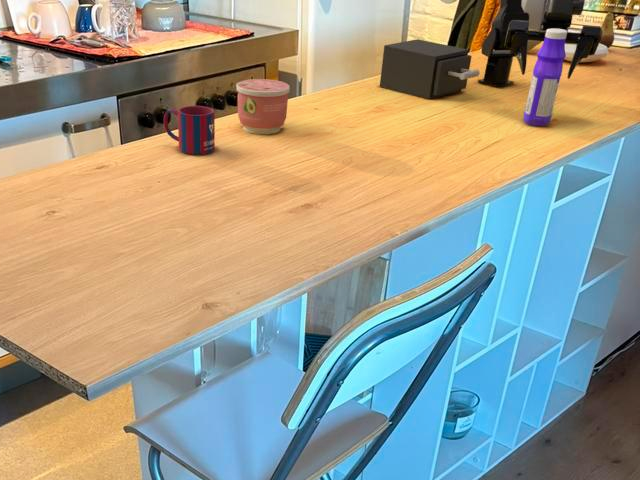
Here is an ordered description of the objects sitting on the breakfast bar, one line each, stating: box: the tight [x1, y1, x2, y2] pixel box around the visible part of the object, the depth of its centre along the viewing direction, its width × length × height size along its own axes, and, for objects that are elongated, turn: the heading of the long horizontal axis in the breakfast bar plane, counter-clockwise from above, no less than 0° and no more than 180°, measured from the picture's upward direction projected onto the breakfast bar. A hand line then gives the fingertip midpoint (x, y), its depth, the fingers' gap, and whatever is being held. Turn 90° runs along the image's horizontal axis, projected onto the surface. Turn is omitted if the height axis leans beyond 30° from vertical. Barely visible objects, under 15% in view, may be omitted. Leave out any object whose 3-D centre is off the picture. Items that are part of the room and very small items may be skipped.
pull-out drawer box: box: [433, 54, 480, 96], centre depth 189 cm, size 18×12×7 cm, turn 44°
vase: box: [563, 30, 610, 63], centre depth 223 cm, size 16×16×7 cm
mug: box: [163, 105, 216, 156], centre depth 151 cm, size 7×10×7 cm
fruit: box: [599, 3, 617, 49], centre depth 234 cm, size 6×6×12 cm
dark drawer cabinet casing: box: [379, 38, 469, 100], centre depth 191 cm, size 15×13×9 cm
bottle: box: [523, 28, 567, 127], centre depth 168 cm, size 7×6×17 cm
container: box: [235, 78, 291, 135], centre depth 162 cm, size 10×10×8 cm
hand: (546, 75), depth 169 cm, fingers open, 9 cm apart
